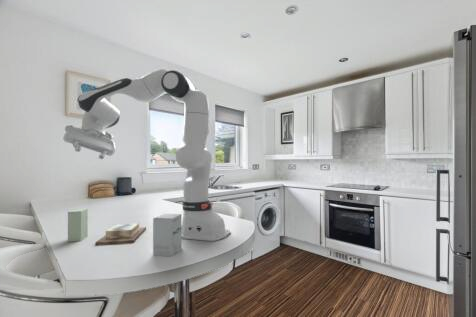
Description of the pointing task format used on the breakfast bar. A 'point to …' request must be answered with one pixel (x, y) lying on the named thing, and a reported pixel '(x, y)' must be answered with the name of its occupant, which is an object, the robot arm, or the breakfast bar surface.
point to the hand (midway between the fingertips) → (90, 154)
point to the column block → (77, 224)
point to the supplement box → (167, 234)
